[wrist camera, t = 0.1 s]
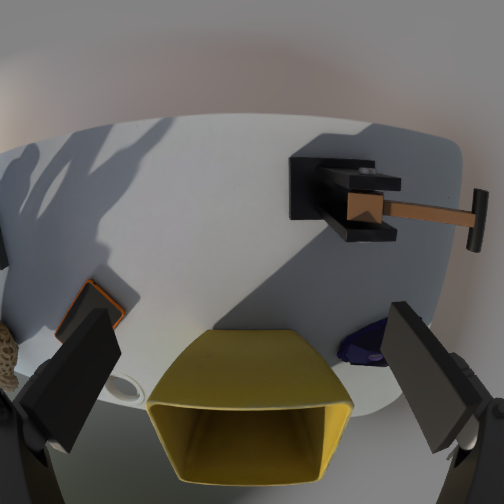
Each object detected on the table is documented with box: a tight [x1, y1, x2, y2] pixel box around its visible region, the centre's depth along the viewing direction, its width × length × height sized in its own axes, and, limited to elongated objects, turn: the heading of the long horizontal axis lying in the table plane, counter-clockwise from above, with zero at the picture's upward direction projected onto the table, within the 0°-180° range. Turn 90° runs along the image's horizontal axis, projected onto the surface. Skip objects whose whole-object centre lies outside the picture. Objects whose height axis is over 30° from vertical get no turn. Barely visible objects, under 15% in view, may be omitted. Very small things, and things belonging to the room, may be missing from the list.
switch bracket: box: [289, 157, 401, 244], centre depth 26 cm, size 10×7×13 cm
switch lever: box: [347, 188, 489, 253], centre depth 19 cm, size 12×5×2 cm, turn 92°
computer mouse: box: [337, 317, 422, 367], centre depth 37 cm, size 9×15×4 cm, turn 100°
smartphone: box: [55, 279, 125, 344], centre depth 38 cm, size 8×17×1 cm, turn 135°
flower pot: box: [145, 329, 354, 486], centre depth 32 cm, size 19×19×17 cm
